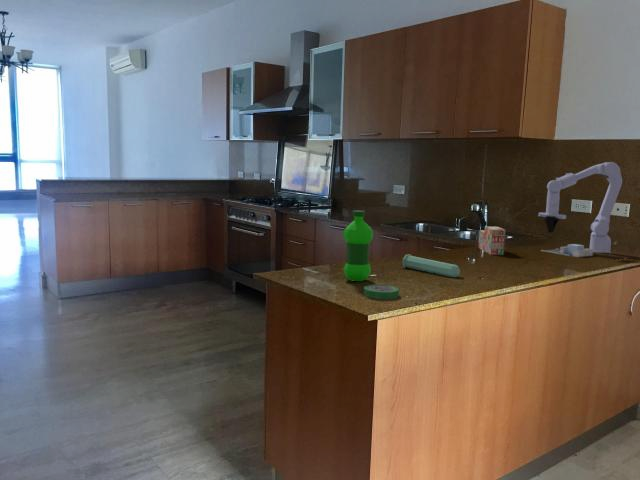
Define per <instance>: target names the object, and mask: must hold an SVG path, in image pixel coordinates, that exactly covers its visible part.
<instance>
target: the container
mask: <svg viewBox="0 0 640 480" xmlns="http://www.w3.org/2000/svg"><path fill="white" fill-rule="evenodd" d="M402 266H403V268H404V267H405V269H413V270H415V271H416V270H417V271H420V270H421V272H425V271H426V272H425V273H430V274H434V273H435V274H436V275H440V276H444V277H450V278H457V277H459V275H460V273H461V269H460V267H459V266H458V265H457V264H454V263H453V264H452V263H448V262H442V261H438V260H434V259H433V260H432V259H427V258H423V257H418V256H414V255H412V254H409V253H408V254H404V257H402ZM406 267H407V268H406Z"/></svg>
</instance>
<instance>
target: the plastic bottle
mask: <svg viewBox="0 0 640 480" xmlns="http://www.w3.org/2000/svg"><path fill="white" fill-rule="evenodd" d="M365 216H366V211H365V210H352V217H353V221H352V222H350V223H349V224H348V225H347V226H346V227H345V228H344V229H343V240H344V241H345V242H346V263H345V264H344V267H343V274H344V276H345V277H346V278H347V279H348V280H349V281H350V280H354V281H362V280H364V281H365V280H367V279H368V277H369V276H370V275H371V273H372V272H371V271H372V266H371V264H370V263H369V261H370V260H369V257H370V255H369V254H370V243H371V242H372V240H373V237H374V231H373V229H372V228H371V226H369V225H368V223H367V222H365V221H364V217H365Z"/></svg>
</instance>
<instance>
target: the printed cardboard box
mask: <svg viewBox="0 0 640 480" xmlns="http://www.w3.org/2000/svg"><path fill="white" fill-rule="evenodd" d="M505 241H506V229H504V228H502V227H500V226H484V230H483V229H481V230H480V229H479V230H478V248H479V249H480V250H482V251H483V252H484V253H487V254H488V255H490V256H504V255H505V253H504V252H505Z"/></svg>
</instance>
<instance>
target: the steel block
mask: <svg viewBox="0 0 640 480" xmlns="http://www.w3.org/2000/svg"><path fill="white" fill-rule="evenodd" d="M566 246H567V254H569V255H573V250H575V249H585V245H583V244H577V243H571V244H570V243H569V244H567V245H566Z"/></svg>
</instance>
